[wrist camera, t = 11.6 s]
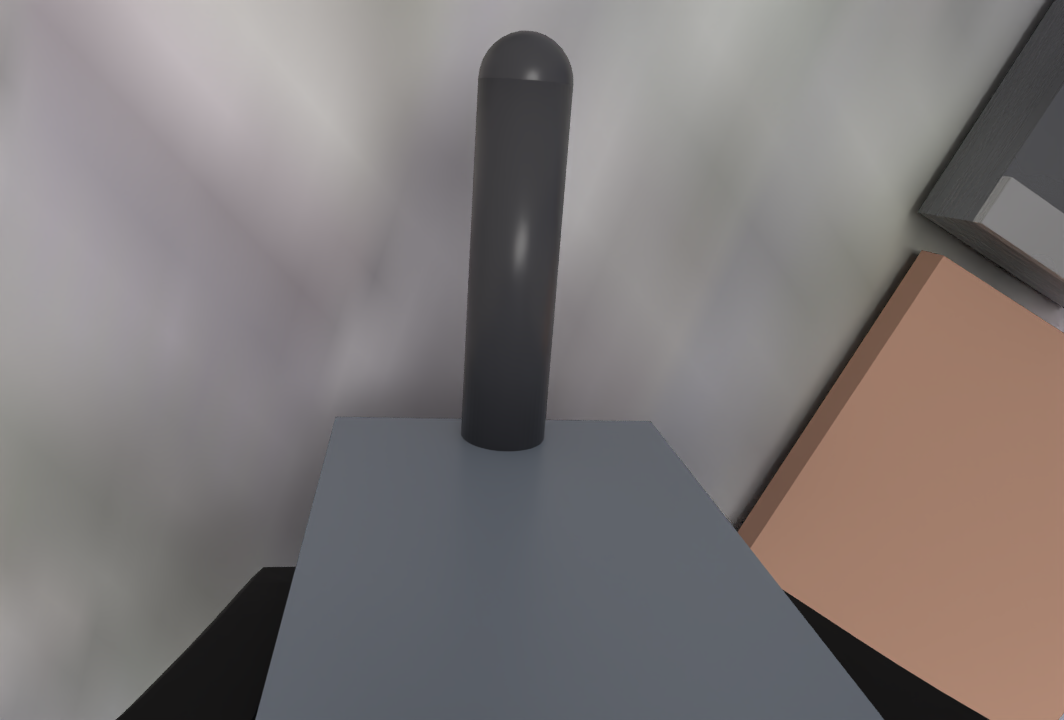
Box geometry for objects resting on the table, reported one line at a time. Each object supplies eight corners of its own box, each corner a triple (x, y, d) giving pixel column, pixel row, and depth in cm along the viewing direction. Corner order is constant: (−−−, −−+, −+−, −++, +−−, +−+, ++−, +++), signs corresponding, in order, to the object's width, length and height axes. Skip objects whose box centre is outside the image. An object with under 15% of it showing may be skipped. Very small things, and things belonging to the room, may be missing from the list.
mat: (1233, 449, 16) (1262, 462, 16) (882, 898, 19) (897, 922, 18) (921, 249, 14) (943, 255, 13) (565, 795, 16) (570, 819, 16)
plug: (696, 52, 9) (1218, -74, 3) (618, 678, 11) (828, 1249, 6) (335, 17, 8) (150, -217, 2) (335, 689, 11) (245, 1350, 5)
